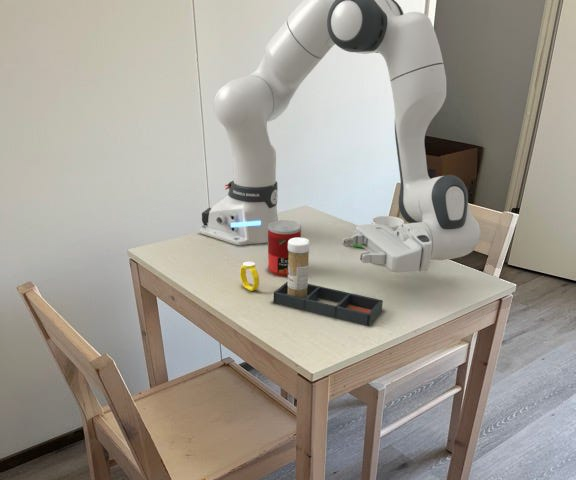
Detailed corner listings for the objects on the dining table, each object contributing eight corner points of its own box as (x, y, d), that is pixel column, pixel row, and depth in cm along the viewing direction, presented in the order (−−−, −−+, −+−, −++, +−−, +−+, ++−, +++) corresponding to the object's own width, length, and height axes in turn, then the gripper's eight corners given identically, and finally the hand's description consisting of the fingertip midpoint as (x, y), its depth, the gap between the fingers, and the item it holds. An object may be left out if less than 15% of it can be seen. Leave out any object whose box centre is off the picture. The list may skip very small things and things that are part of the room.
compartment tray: (273, 303, 129) (273, 292, 127) (289, 289, 135) (289, 279, 133) (369, 326, 121) (370, 315, 119) (381, 310, 127) (382, 300, 125)
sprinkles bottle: (283, 297, 131) (284, 238, 124) (302, 294, 133) (304, 235, 125) (292, 306, 128) (293, 245, 120) (311, 302, 129) (313, 242, 122)
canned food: (279, 279, 139) (280, 233, 133) (261, 268, 145) (261, 223, 138) (306, 272, 143) (308, 227, 137) (288, 261, 148) (288, 218, 142)
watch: (262, 292, 133) (262, 267, 130) (251, 295, 132) (251, 269, 129) (248, 282, 137) (247, 258, 134) (237, 285, 136) (236, 260, 133)
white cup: (390, 268, 146) (394, 228, 140) (362, 260, 149) (365, 221, 144) (405, 259, 151) (410, 220, 145) (378, 251, 155) (382, 213, 149)
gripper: (390, 215, 138) (335, 220, 134) (435, 245, 122) (374, 252, 118) (387, 241, 142) (333, 247, 138) (431, 274, 125) (371, 282, 122)
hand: (352, 250), depth 128 cm, fingers open, 8 cm apart
